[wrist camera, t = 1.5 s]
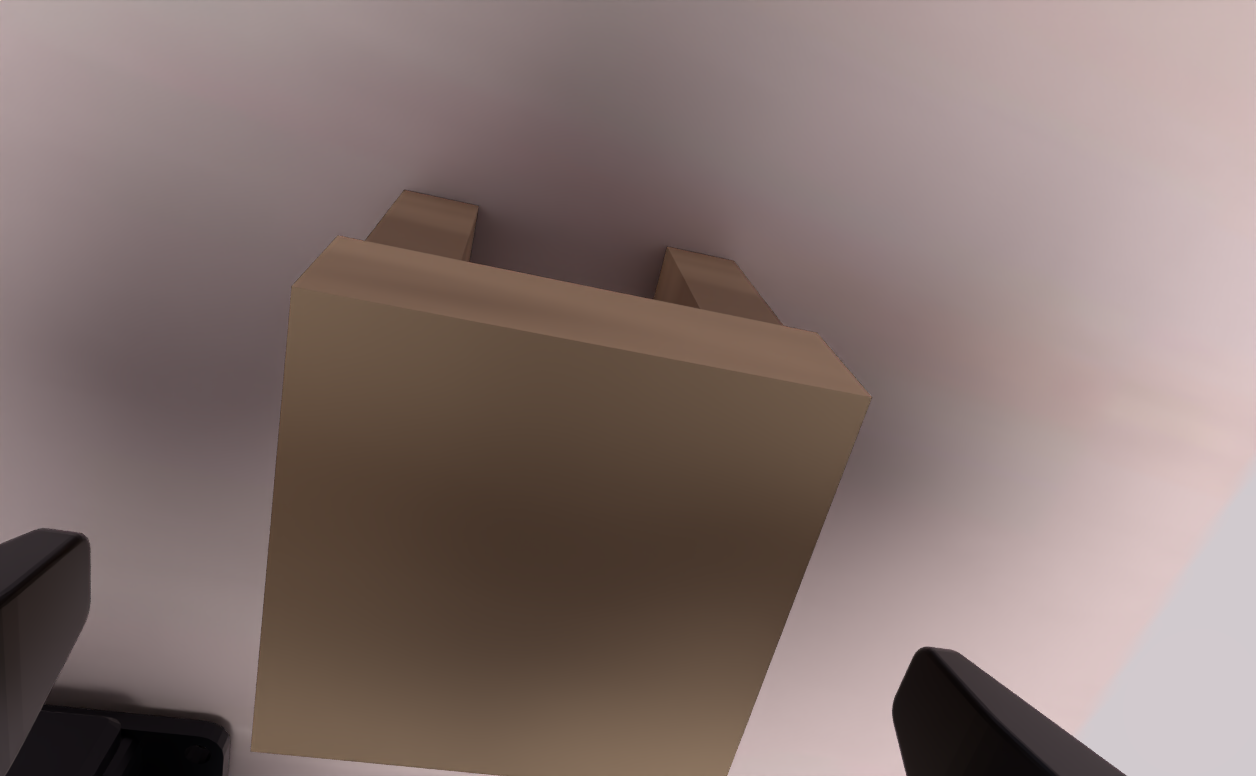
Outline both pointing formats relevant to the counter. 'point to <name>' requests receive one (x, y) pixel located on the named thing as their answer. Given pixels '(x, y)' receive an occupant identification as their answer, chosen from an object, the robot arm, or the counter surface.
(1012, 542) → the counter surface
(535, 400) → the stool
